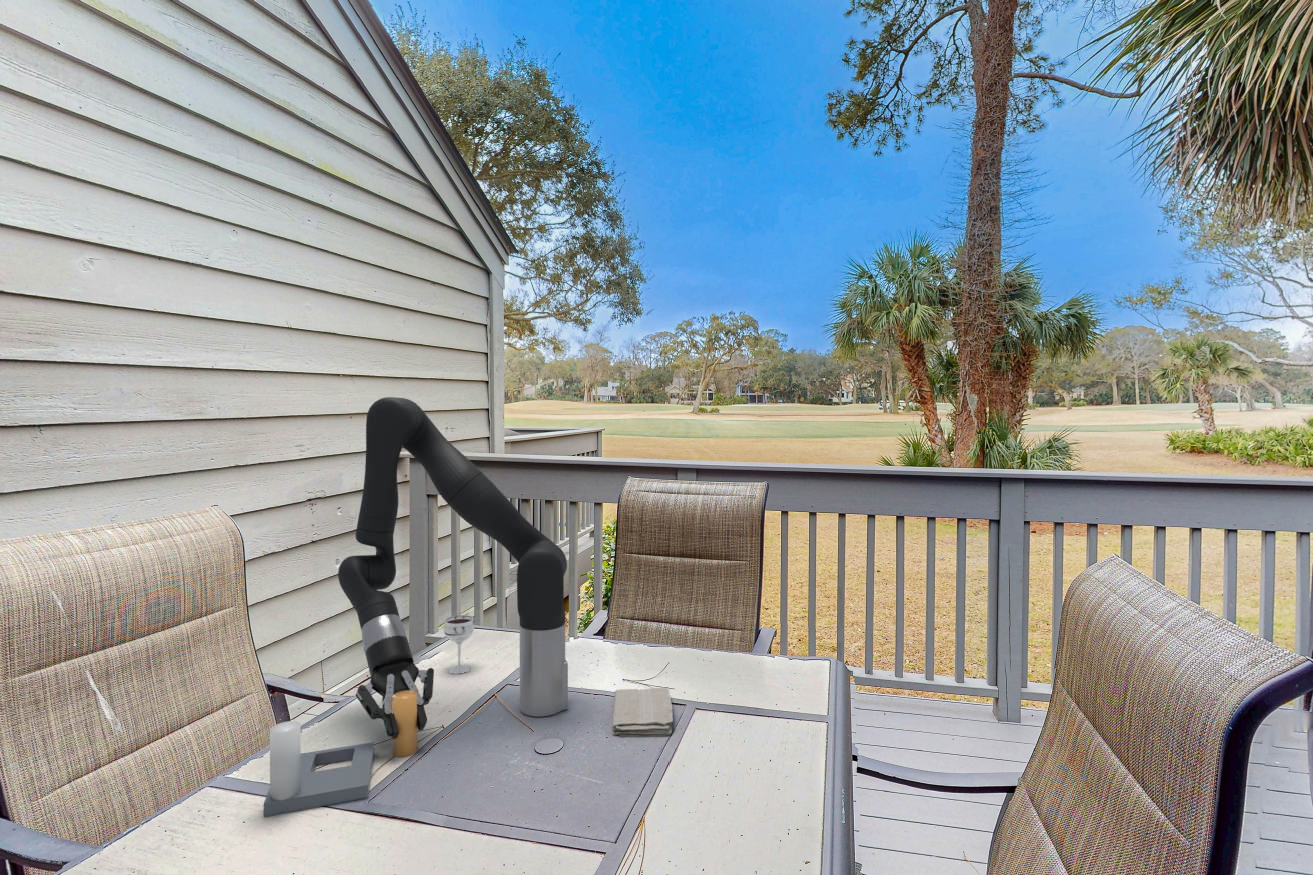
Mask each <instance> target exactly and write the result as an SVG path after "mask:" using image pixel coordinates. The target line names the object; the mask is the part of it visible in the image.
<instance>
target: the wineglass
mask: <svg viewBox="0 0 1313 875" xmlns="http://www.w3.org/2000/svg"><path fill="white" fill-rule="evenodd" d="M473 621H474V617H473V616H472V615H468V614H466V615H464V614H463V615H461V614H460V615H452V616H450V617H447V618H445V619H444V623H445V625H444V628H443V632H444V635H445V637H446V638H447V639H448V640H450V641H451V642H454V643H455V644H456V645H457V660H458V662H457V663H458V666H454V667H452V669H451V668H450V669H448V671H449V672H450V673H455V674H454V675H460V674H459V673H463V674H465V673H464V672H466V673H468V672H469V671H468V670H469V668H470V667H469V666H467V667H465V665H461V657H462V656H461V655H462V653H461V652H462V643H464V641H467V640H468V639H469V638H470V637H471V636H472V635H473V633H474V630H475V624H474V623H473ZM468 667H469V668H468ZM467 671H468V672H467ZM449 672H448V673H449ZM450 673H449V674H450ZM457 673H458V674H457Z"/></svg>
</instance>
